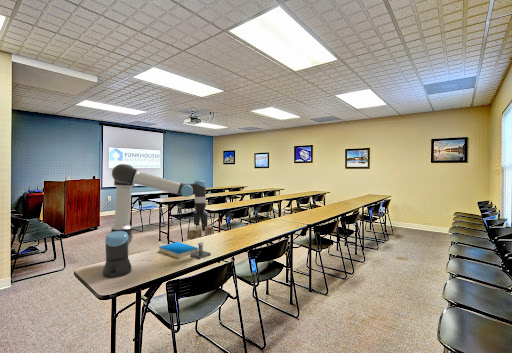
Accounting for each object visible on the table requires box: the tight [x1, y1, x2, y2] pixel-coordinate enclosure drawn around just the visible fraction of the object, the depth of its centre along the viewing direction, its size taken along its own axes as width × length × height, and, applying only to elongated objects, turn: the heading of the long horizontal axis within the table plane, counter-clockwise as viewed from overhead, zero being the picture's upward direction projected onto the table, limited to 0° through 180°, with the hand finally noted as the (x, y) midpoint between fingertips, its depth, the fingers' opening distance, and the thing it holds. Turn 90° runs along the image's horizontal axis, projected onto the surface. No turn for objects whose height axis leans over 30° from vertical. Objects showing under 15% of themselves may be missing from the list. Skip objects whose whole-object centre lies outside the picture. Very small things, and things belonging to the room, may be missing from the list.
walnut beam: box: [186, 225, 214, 240], centre depth 178 cm, size 20×4×5 cm, turn 144°
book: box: [158, 241, 199, 259], centre depth 187 cm, size 17×4×25 cm
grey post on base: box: [190, 242, 212, 260], centre depth 178 cm, size 10×10×9 cm
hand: (200, 235), depth 178 cm, fingers closed on walnut beam, 4 cm apart
